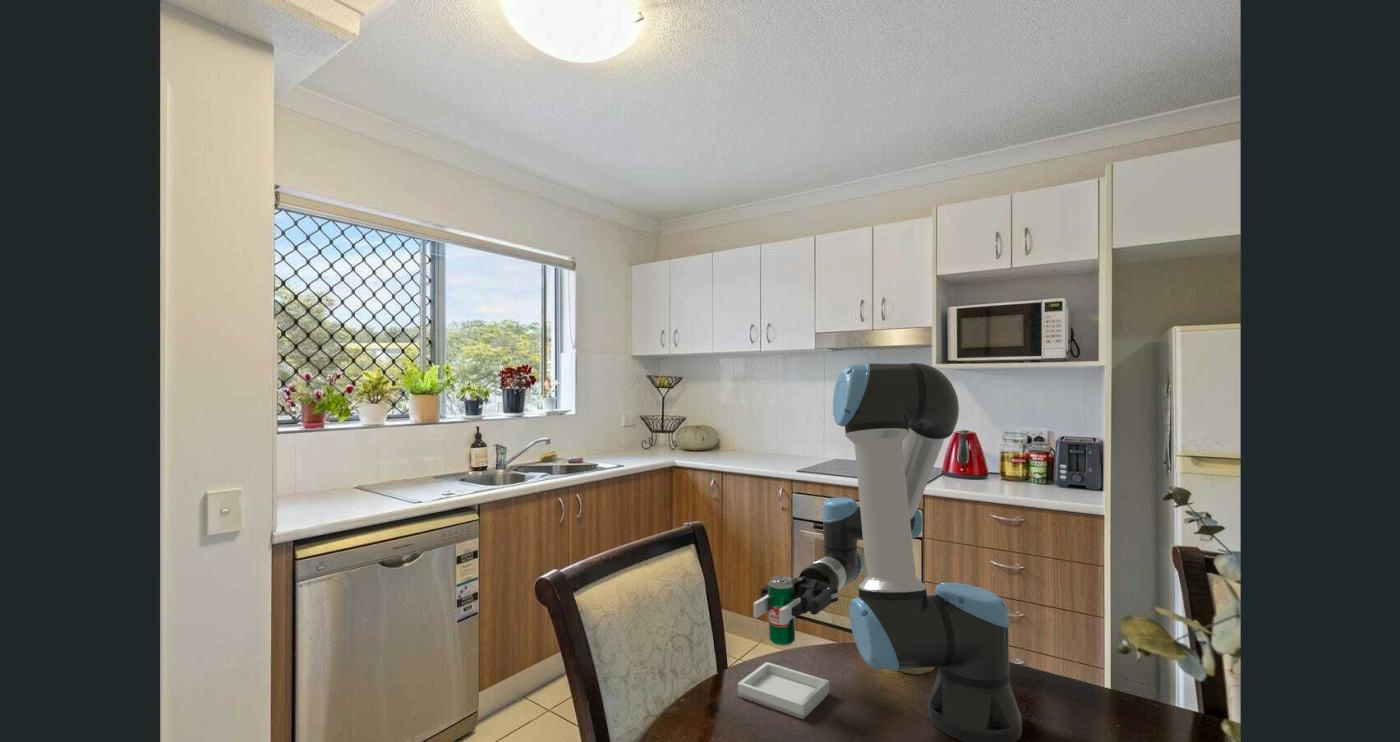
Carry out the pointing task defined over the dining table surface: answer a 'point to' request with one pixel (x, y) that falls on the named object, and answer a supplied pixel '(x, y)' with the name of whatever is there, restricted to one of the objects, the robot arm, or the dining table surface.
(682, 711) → the dining table surface
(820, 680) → the tray
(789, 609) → the robot arm
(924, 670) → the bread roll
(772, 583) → the soda can
